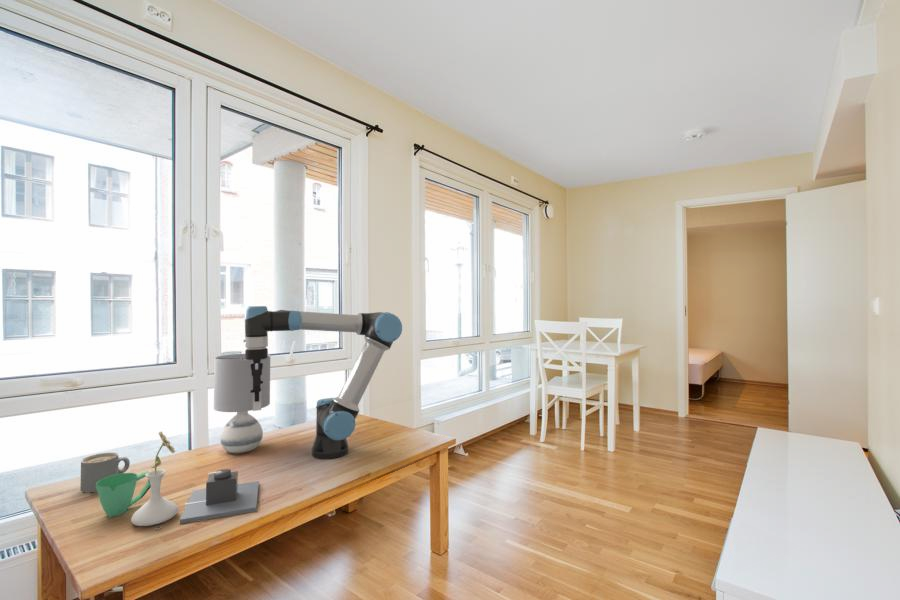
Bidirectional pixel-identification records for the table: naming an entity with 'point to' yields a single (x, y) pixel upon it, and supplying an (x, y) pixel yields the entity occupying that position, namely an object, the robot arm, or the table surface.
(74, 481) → the table surface
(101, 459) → the coffee mug
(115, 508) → the mug
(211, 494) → the knob
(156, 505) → the flower in vase
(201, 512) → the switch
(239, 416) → the lamp
